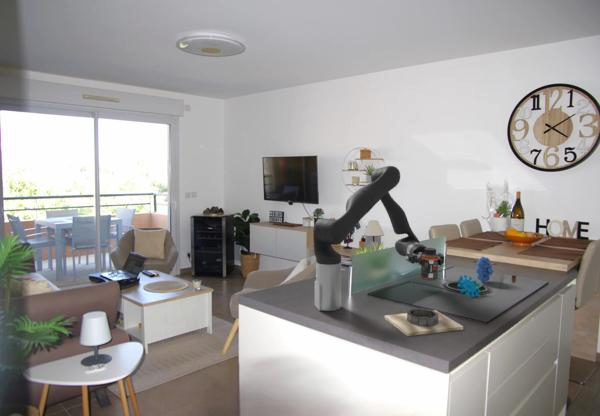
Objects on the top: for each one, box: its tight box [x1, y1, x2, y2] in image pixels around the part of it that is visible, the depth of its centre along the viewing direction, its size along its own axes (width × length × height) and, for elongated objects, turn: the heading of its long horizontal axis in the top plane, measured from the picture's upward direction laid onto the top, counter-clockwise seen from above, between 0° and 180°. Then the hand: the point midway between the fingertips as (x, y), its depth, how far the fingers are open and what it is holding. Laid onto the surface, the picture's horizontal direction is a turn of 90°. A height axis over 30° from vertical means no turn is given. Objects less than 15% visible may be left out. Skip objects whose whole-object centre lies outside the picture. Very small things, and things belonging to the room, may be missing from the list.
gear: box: [456, 274, 482, 299], centre depth 175 cm, size 11×6×10 cm
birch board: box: [383, 309, 464, 337], centre depth 143 cm, size 20×16×1 cm
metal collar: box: [406, 307, 439, 327], centre depth 143 cm, size 10×10×2 cm
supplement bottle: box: [420, 247, 439, 281], centre depth 157 cm, size 6×6×11 cm
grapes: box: [474, 256, 494, 284], centre depth 190 cm, size 12×7×12 cm, turn 129°
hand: (432, 262), depth 154 cm, fingers closed on supplement bottle, 6 cm apart
